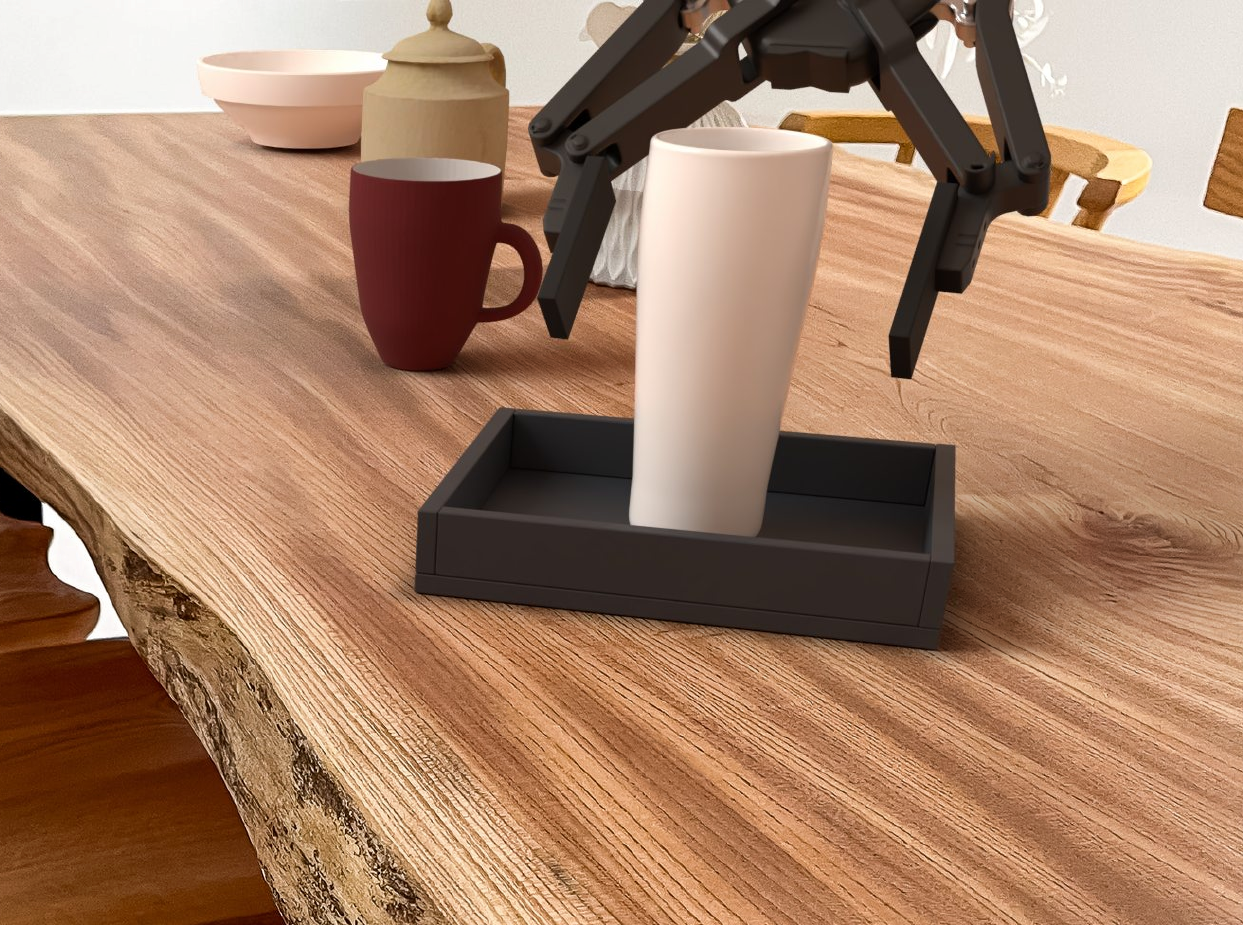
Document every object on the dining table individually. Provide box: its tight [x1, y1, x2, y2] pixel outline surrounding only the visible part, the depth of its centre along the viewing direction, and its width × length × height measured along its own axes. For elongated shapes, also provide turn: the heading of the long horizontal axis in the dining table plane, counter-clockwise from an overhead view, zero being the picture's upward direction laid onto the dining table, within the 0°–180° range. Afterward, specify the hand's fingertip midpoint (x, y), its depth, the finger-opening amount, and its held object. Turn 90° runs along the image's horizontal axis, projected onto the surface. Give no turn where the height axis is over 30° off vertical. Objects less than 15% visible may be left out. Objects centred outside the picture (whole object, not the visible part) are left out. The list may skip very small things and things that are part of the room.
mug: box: [348, 158, 544, 371], centre depth 102 cm, size 11×8×10 cm
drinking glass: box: [629, 126, 834, 537], centre depth 74 cm, size 7×7×15 cm
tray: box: [413, 406, 957, 650], centre depth 77 cm, size 20×16×3 cm
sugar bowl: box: [360, 0, 510, 209], centre depth 144 cm, size 15×11×15 cm
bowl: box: [196, 48, 388, 149], centre depth 172 cm, size 20×20×7 cm
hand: (719, 338), depth 73 cm, fingers open, 13 cm apart
